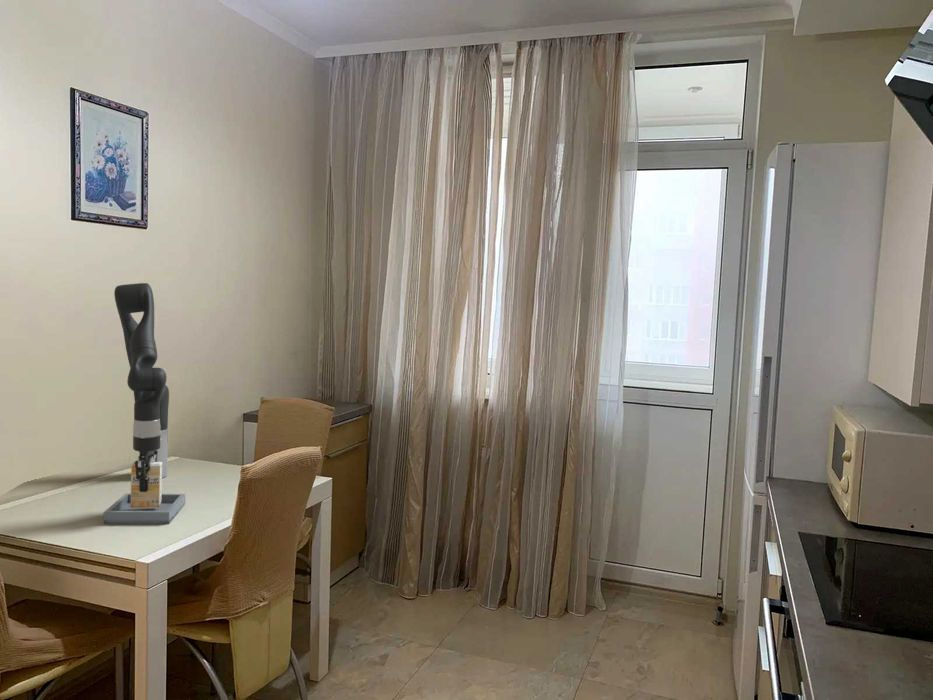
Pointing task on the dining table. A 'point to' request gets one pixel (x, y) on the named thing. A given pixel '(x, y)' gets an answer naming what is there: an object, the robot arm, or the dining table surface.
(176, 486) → the dining table surface
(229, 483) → the dining table surface
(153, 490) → the supplement box
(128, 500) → the tray
